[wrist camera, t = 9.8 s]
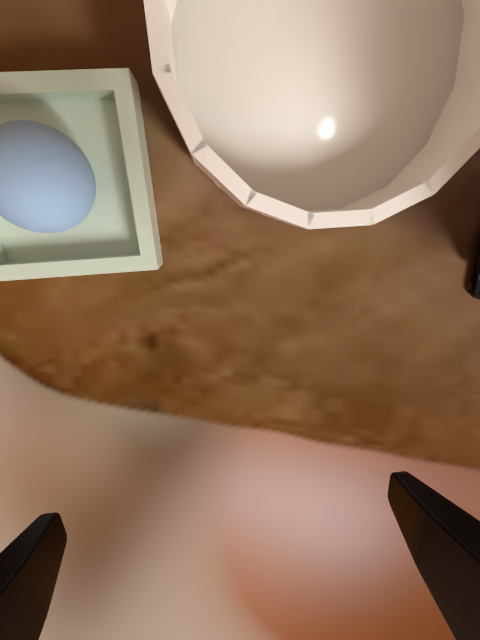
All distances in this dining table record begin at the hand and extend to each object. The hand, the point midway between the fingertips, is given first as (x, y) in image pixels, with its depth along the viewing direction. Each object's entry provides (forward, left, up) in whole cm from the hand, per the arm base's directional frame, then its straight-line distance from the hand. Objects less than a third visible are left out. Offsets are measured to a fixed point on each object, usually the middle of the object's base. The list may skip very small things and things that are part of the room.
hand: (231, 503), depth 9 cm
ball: (+7, -9, -10) cm, 15 cm away
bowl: (-6, -14, -13) cm, 20 cm away
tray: (+7, -9, -13) cm, 18 cm away
